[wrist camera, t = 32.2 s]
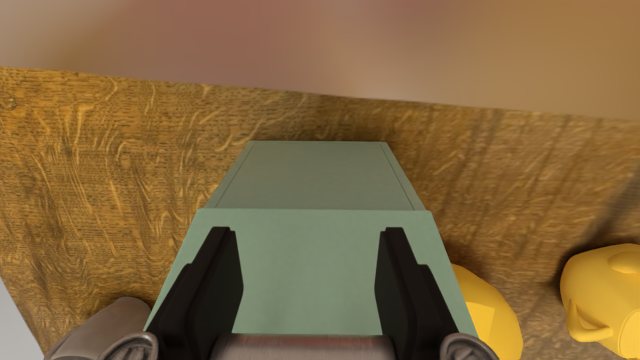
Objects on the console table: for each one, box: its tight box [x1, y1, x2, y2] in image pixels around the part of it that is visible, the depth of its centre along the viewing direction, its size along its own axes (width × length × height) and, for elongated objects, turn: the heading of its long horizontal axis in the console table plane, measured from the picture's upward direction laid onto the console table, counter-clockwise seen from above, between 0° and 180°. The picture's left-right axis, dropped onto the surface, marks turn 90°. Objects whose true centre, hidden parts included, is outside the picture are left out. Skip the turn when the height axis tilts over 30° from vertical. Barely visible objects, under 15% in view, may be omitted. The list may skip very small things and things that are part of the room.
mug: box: [44, 297, 151, 360], centre depth 39 cm, size 12×9×10 cm
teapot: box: [560, 243, 640, 360], centre depth 35 cm, size 14×13×10 cm
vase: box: [451, 263, 523, 360], centre depth 32 cm, size 18×18×19 cm
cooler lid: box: [143, 208, 479, 360], centre depth 13 cm, size 12×15×6 cm
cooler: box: [203, 140, 427, 211], centre depth 28 cm, size 12×15×14 cm
